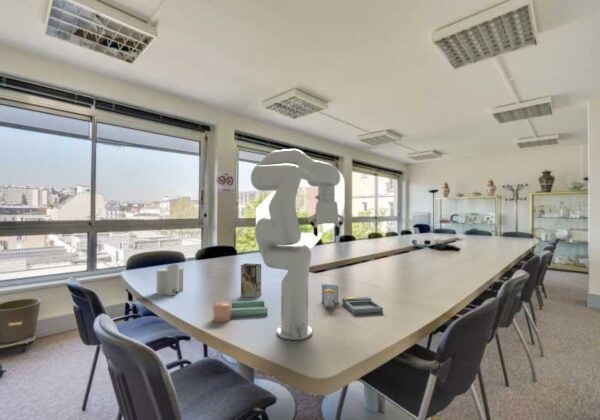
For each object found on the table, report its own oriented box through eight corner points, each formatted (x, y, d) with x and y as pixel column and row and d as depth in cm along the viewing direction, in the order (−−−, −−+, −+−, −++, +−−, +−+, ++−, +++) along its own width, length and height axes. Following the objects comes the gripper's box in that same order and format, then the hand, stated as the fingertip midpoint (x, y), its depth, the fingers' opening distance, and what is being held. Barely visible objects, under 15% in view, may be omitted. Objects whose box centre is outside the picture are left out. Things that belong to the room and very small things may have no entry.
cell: (335, 309, 128) (335, 290, 128) (326, 310, 127) (326, 290, 127) (332, 306, 132) (332, 287, 133) (323, 307, 132) (323, 288, 132)
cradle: (382, 313, 123) (382, 305, 123) (353, 315, 121) (353, 307, 121) (368, 303, 138) (368, 296, 138) (342, 304, 135) (342, 297, 135)
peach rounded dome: (231, 322, 112) (231, 306, 113) (212, 323, 111) (212, 307, 111) (231, 315, 119) (231, 301, 119) (214, 316, 118) (214, 302, 118)
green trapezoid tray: (267, 315, 120) (267, 308, 120) (227, 317, 117) (227, 310, 117) (265, 307, 131) (265, 300, 131) (229, 308, 128) (229, 302, 128)
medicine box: (338, 301, 141) (338, 283, 141) (338, 303, 137) (338, 285, 137) (321, 300, 142) (321, 282, 142) (321, 303, 137) (321, 284, 138)
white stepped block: (180, 289, 161) (180, 262, 161) (188, 294, 150) (189, 265, 150) (156, 292, 153) (156, 264, 153) (163, 299, 142) (164, 268, 142)
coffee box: (261, 294, 151) (262, 263, 151) (256, 298, 145) (256, 266, 145) (246, 293, 153) (246, 262, 154) (240, 296, 147) (240, 265, 147)
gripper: (309, 198, 128) (309, 237, 128) (347, 198, 130) (347, 236, 130) (306, 198, 135) (306, 235, 135) (342, 198, 138) (342, 234, 138)
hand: (326, 235), depth 133 cm, fingers open, 9 cm apart
